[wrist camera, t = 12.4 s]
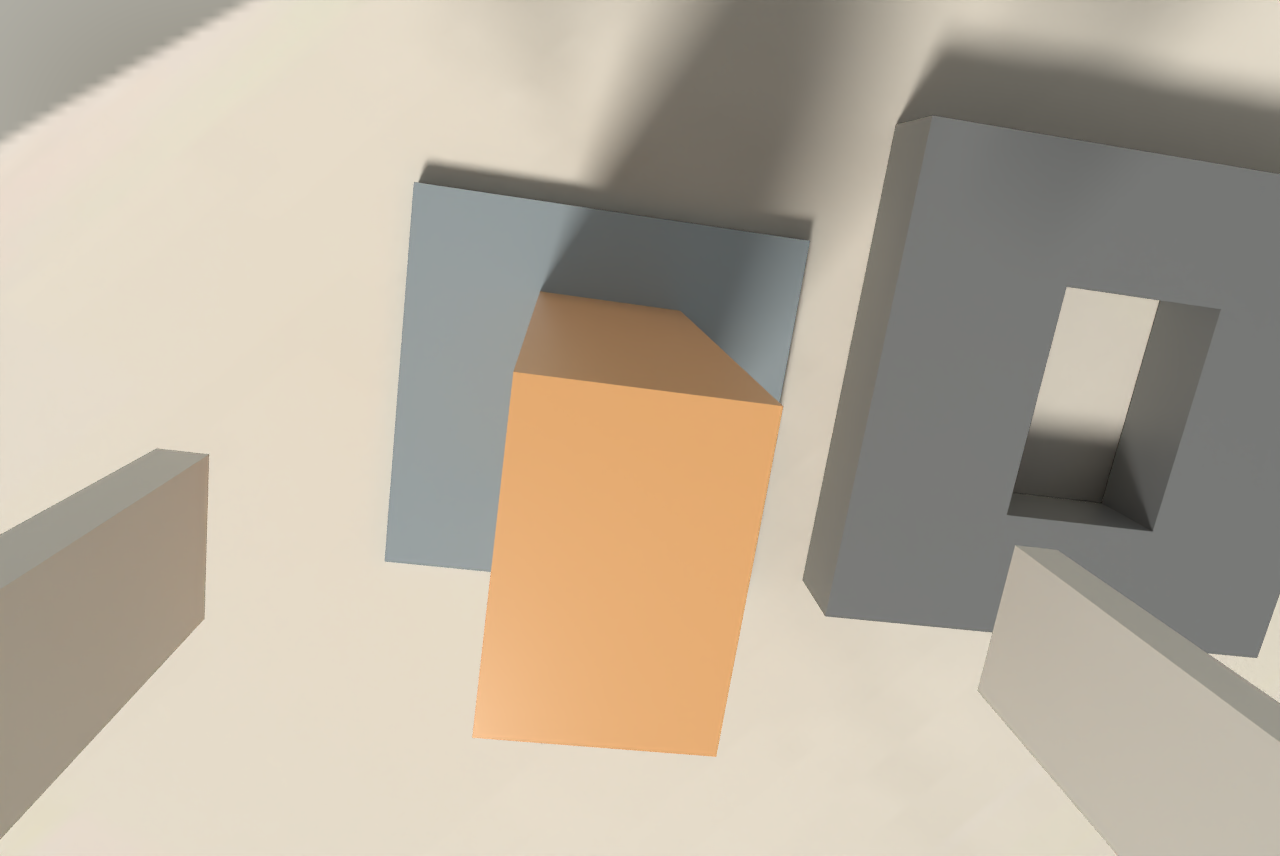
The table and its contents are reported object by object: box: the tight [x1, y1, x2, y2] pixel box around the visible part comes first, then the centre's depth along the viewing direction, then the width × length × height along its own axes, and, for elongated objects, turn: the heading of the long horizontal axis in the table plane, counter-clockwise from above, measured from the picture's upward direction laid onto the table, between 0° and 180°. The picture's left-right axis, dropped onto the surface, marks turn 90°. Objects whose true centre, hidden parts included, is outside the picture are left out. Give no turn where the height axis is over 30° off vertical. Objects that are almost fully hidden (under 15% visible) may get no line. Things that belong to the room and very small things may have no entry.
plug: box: [472, 291, 783, 757], centre depth 19 cm, size 4×6×12 cm, turn 172°
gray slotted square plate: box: [803, 115, 1280, 658], centre depth 25 cm, size 14×14×2 cm
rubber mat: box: [385, 182, 810, 572], centre depth 25 cm, size 11×11×1 cm
